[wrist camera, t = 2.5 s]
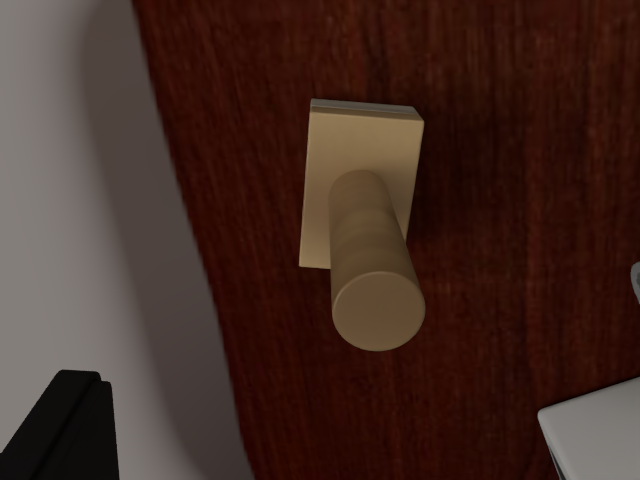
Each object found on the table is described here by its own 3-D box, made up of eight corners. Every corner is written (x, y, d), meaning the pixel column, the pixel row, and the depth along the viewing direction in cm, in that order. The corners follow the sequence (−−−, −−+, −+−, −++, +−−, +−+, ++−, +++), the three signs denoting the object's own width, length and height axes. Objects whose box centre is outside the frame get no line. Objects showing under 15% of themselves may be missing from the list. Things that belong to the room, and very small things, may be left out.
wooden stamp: (310, 98, 22) (302, 185, 12) (413, 106, 22) (489, 199, 12) (300, 239, 24) (287, 409, 14) (393, 245, 24) (441, 418, 14)
